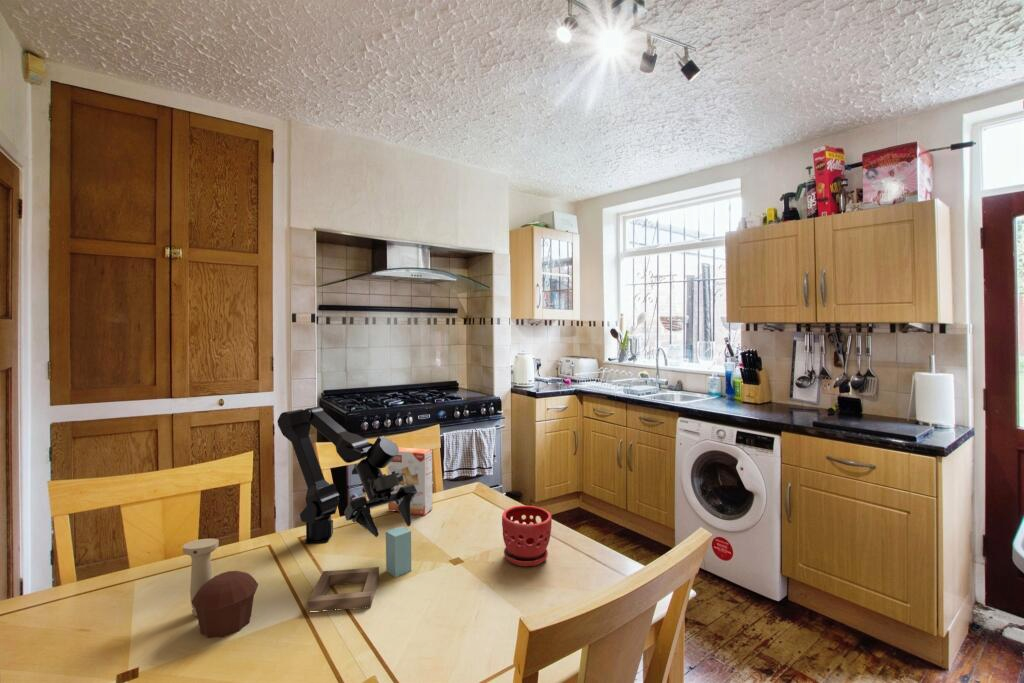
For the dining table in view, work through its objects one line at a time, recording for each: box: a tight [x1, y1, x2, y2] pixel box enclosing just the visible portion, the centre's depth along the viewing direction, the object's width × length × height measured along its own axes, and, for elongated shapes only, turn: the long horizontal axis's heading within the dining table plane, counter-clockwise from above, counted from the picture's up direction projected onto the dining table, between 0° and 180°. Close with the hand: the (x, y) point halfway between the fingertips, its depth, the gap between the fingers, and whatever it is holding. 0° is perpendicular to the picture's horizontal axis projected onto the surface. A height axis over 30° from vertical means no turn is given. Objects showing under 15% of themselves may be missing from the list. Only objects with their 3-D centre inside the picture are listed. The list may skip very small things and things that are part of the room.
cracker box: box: [387, 446, 433, 516], centre depth 158 cm, size 14×6×21 cm, turn 73°
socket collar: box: [307, 566, 380, 613], centre depth 107 cm, size 13×13×2 cm
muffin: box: [190, 570, 259, 639], centre depth 96 cm, size 12×11×10 cm
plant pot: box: [501, 505, 553, 567], centre depth 123 cm, size 13×13×12 cm
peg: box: [385, 526, 412, 578], centre depth 117 cm, size 4×4×10 cm
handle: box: [182, 538, 220, 617], centre depth 99 cm, size 5×6×15 cm
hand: (394, 530), depth 119 cm, fingers open, 9 cm apart
